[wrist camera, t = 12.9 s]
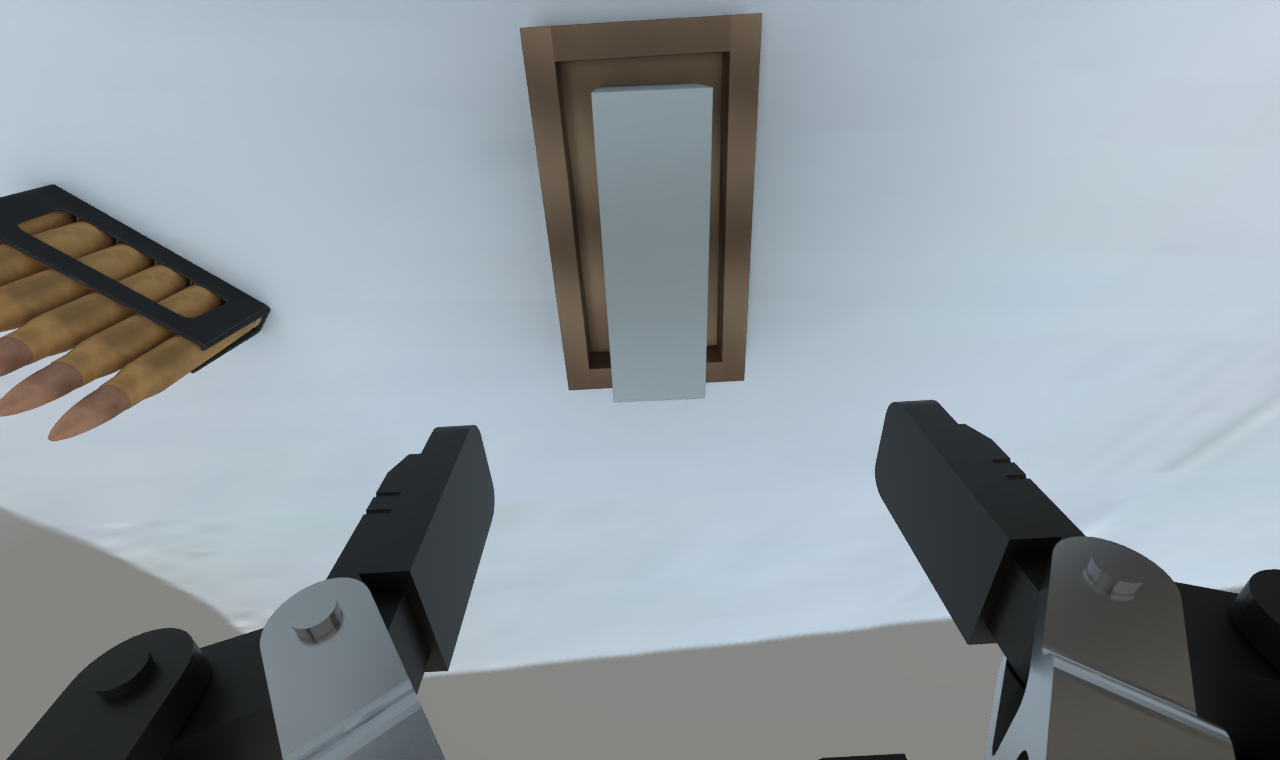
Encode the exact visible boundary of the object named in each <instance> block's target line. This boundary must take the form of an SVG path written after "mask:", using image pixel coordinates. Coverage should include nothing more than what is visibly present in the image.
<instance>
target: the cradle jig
mask: <svg viewBox="0 0 1280 760" xmlns="http://www.w3.org/2000/svg"><path fill="white" fill-rule="evenodd" d="M761 24H762V13H756V14H740V15H723V16H707V17H690V18H674V19H657V20H641V21H624V22H608V23H592V24H575V25H559V26H542V27H526V28H520V34H521V42H522V49H523V56H524V64H525V71H526V79H527V86H528V93H529V101H530V108H531V115H532V123H533V130H534V137H535V145H536V152H537V159H538V167H539V174H540V181H541V189H542V196H543V204H544V211H545V218H546V226H547V233H548V240H549V248H550V255H551V262H552V270H553V277H554V284H555V292H556V299H557V306H558V314H559V321H560V328H561V336H562V343H563V351H564V358H565V365H566V373H567V380H568V387H569V390H583V389H601V388H613V386H612V372H611V358H610V344H609V331H608V317H607V303H606V289H605V276H604V262H603V248H602V234H601V221H600V207H599V193H598V179H597V166H596V152H595V138H594V124H593V111H592V97H591V93H592V92H593V91H594V90H595V89H597V88H598V87H599V86H611V85H634V84H657V83H680V82H693V83H697V84H701V85H705V86H709V87H713V106H712V146H711V186H710V226H709V266H708V306H707V346H706V383H708V382H726V381H743V380H744V374H745V353H746V333H747V312H748V292H749V271H750V250H751V230H752V209H753V189H754V168H755V148H756V127H757V107H758V86H759V65H760V45H761Z"/></svg>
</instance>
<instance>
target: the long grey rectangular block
mask: <svg viewBox="0 0 1280 760" xmlns="http://www.w3.org/2000/svg"><path fill="white" fill-rule="evenodd" d="M591 97H592V111H593V124H594V138H595V152H596V166H597V179H598V193H599V207H600V221H601V234H602V248H603V262H604V276H605V289H606V303H607V317H608V331H609V344H610V358H611V372H612V386H613V399H614V402H633V401H656V400H679V399H702V398H705V386H706V346H707V306H708V266H709V226H710V186H711V146H712V106H713V87H709V86H705V85H701V84H697V83H693V82H680V83H657V84H634V85H611V86H599V87H598V88H597V89H595V90H594V91H593V92H592V93H591Z"/></svg>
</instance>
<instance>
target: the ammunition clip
mask: <svg viewBox="0 0 1280 760" xmlns="http://www.w3.org/2000/svg"><path fill="white" fill-rule="evenodd" d="M269 311H270V310H269V308H268V306H267V305H265V304H263V303H262V302H260V301H258V300H256V299H255V298H253V297H251V296H249V295H248V294H246V293H244V292H242V291H241V290H239V289H237V288H235V287H234V286H232V285H230V284H228V283H227V282H225V281H223V280H221V279H219V278H218V277H216V276H214V275H212V274H211V273H209V272H207V271H205V270H204V269H202V268H200V267H198V266H197V265H195V264H193V263H191V262H190V261H188V260H186V259H184V258H183V257H181V256H179V255H177V254H175V253H174V252H172V251H170V250H168V249H167V248H165V247H163V246H161V245H160V244H158V243H156V242H154V241H153V240H151V239H149V238H147V237H146V236H144V235H142V234H140V233H139V232H137V231H135V230H133V229H132V228H130V227H128V226H126V225H124V224H123V223H121V222H119V221H117V220H116V219H114V218H112V217H110V216H109V215H107V214H105V213H103V212H102V211H100V210H98V209H96V208H95V207H93V206H91V205H89V204H88V203H86V202H84V201H82V200H81V199H79V198H77V197H75V196H73V195H72V194H70V193H68V192H66V191H65V190H63V189H61V188H59V187H58V186H56V185H48V186H44V187H40V188H36V189H32V190H28V191H24V192H20V193H16V194H12V195H8V196H4V197H0V332H3V331H8V330H12V329H16V328H19V327H20V328H19V329H17V330H16V331H14V332H12V333H9V334H7V335H5V336H3V337H1V338H0V377H1V376H3V375H6V374H8V373H11V372H13V371H15V370H17V369H19V368H21V367H23V366H25V365H29V364H32V363H34V362H36V361H38V360H41V359H43V358H45V357H48V356H52V355H55V354H59V353H62V352H65V351H68V350H70V349H72V348H73V349H72V350H71V351H70V352H68V353H67V354H66V355H64V356H62V357H61V358H59V359H57V360H55V361H54V362H52V363H51V364H50V365H48V366H46V367H45V368H43V369H41V370H39V371H37V372H35V373H34V374H32V375H30V376H29V377H27V378H26V379H25V380H23V381H22V382H20V383H19V384H17V385H16V386H15V387H14V388H12V389H11V390H10V391H9V392H8V393H7V394H6V395H5V396H4V397H3V398H1V399H0V417H1V416H9V415H14V414H18V413H21V412H25V411H28V410H31V409H34V408H37V407H39V406H42V405H44V404H46V403H49V402H51V401H53V400H55V399H58V398H60V397H62V396H64V395H66V394H68V393H69V392H71V391H73V390H75V389H76V388H79V387H82V386H84V385H86V384H87V383H89V382H91V381H93V380H95V379H97V378H100V377H103V376H106V375H109V374H112V373H114V372H116V371H118V370H120V369H121V370H120V371H119V372H118V373H117V374H116V375H115V376H114V377H113V378H111V379H110V380H109V381H107V382H106V383H104V384H103V385H101V386H100V387H99V388H98V389H97V390H95V391H93V392H92V393H90V394H89V395H87V396H86V397H84V398H83V399H82V400H80V401H79V402H78V403H76V404H75V405H74V406H73V407H71V408H70V409H69V410H68V411H67V412H66V413H65V414H64V415H63V416H62V417H61V418H60V419H59V420H58V422H57V423H56V424H55V425H54V427H53V428H52V430H51V431H50V433H49V436H48V439H49V440H50V441H58V440H63V439H67V438H71V437H73V436H76V435H79V434H82V433H84V432H86V431H89V430H91V429H93V428H95V427H97V426H99V425H101V424H103V423H105V422H107V421H109V420H111V419H112V418H114V417H115V416H117V415H119V414H120V413H122V412H123V411H125V410H127V409H129V408H131V407H132V406H134V405H136V404H137V403H139V402H140V401H142V400H144V399H146V398H149V397H151V396H154V395H156V394H158V393H160V392H162V391H163V390H165V389H166V388H168V387H169V386H171V385H172V384H174V383H175V382H176V381H178V380H179V379H181V378H182V377H184V376H185V375H187V374H188V373H189V372H191V373H195V372H196V371H198V370H200V369H201V368H203V367H204V366H206V365H208V364H209V363H211V362H212V361H214V360H216V359H217V358H219V357H220V356H222V355H224V354H225V353H227V352H228V351H230V350H232V349H233V348H235V347H236V346H238V345H240V344H241V343H243V342H244V341H246V340H248V339H249V338H251V337H252V336H254V335H256V334H257V333H259V331H260V329H261V327H262V325H263V323H264V321H265V319H266V317H267V315H268V313H269Z"/></svg>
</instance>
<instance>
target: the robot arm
mask: <svg viewBox="0 0 1280 760" xmlns="http://www.w3.org/2000/svg"><path fill="white" fill-rule="evenodd" d="M875 479H876V484H877V488H878V492H879V494H880V496H881V498H882V500H883V502H884V503H885V505H886V507H887V508H888V510H889V512H890V513H891V515H892V517H893V519H894V520H895V522H896V524H897V525H898V527H899V529H900V530H901V532H902V534H903V536H904V537H905V539H906V541H907V542H908V544H909V546H910V547H911V549H912V551H913V553H914V554H915V556H916V558H917V559H918V561H919V563H920V564H921V566H922V568H923V570H924V571H925V573H926V575H927V576H928V578H929V580H930V581H931V583H932V585H933V586H934V588H935V590H936V592H937V593H938V595H939V597H940V598H941V600H942V602H943V603H944V605H945V607H946V609H947V610H948V612H949V614H950V615H951V617H952V619H953V620H954V622H955V624H956V625H957V627H958V629H959V631H960V632H961V634H962V636H963V637H964V639H965V641H966V643H967V644H968V645H971V644H989V643H997V644H998V645H999V647H1000V648H1001V650H1002V651H1003V653H1004V655H1005V656H1004V658H1003V661H1002V663H1001V666H1000V669H999V674H998V680H997V686H996V692H995V698H994V703H993V709H992V715H991V721H990V726H989V733H988V738H987V744H986V749H985V755H984V760H1280V570H1277V569H1272V570H1263V571H1260V572H1257V573H1256V574H1254V575H1253V576H1252V577H1251V578H1250V580H1249V581H1248V582H1247V584H1246V585H1245V587H1244V588H1243V589H1242V591H1241V592H1240V593H1239V594H1237V593H1232V592H1226V591H1221V590H1215V589H1210V588H1204V587H1199V586H1194V585H1188V584H1183V583H1177V582H1174V581H1173V580H1172V579H1171V577H1170V576H1169V575H1168V574H1167V573H1166V572H1165V571H1164V570H1163V569H1161V568H1160V567H1159V566H1158V565H1156V564H1155V563H1154V562H1152V561H1151V560H1149V559H1148V558H1146V557H1145V556H1143V555H1141V554H1139V553H1138V552H1136V551H1134V550H1132V549H1130V548H1127V547H1125V546H1123V545H1120V544H1117V543H1115V542H1112V541H1108V540H1104V539H1100V538H1095V537H1086V536H1085V535H1084V534H1083V533H1082V532H1081V531H1080V530H1079V529H1078V528H1077V527H1076V526H1075V525H1074V524H1073V523H1072V521H1071V520H1070V519H1069V518H1068V517H1067V516H1066V515H1065V514H1064V513H1063V512H1062V511H1061V510H1060V509H1059V508H1058V507H1057V506H1056V505H1055V504H1054V503H1053V502H1052V501H1051V500H1050V499H1049V498H1048V497H1047V496H1046V495H1045V494H1044V493H1043V492H1042V491H1041V490H1040V489H1039V488H1038V487H1037V485H1036V484H1035V483H1034V482H1033V481H1032V480H1031V479H1026V474H1025V473H1024V472H1023V471H1022V470H1021V469H1020V468H1019V467H1018V466H1017V465H1016V464H1015V463H1014V462H1013V463H1011V461H1010V458H1009V457H1008V456H1007V455H1006V454H1005V453H1004V452H1003V451H1002V450H1001V448H1000V447H999V446H998V445H997V444H996V443H995V442H994V441H993V440H992V439H990V438H988V437H987V436H985V435H983V434H981V433H980V432H978V431H976V430H975V429H973V428H971V427H969V426H968V425H966V424H958V423H957V422H956V421H955V420H954V419H953V418H952V417H951V416H950V415H949V414H948V413H947V411H946V410H945V409H944V408H943V407H942V406H941V405H940V404H939V403H938V402H937V401H935V400H922V401H905V402H893V403H891V404H890V405H889V407H888V409H887V412H886V416H885V421H884V426H883V431H882V435H881V440H880V445H879V450H878V455H877V460H876V465H875ZM493 513H494V488H493V483H492V479H491V474H490V470H489V466H488V462H487V458H486V454H485V450H484V446H483V442H482V438H481V434H480V431H479V429H478V427H477V426H476V425H467V426H449V427H437V428H435V429H434V430H433V432H432V434H431V435H430V437H429V439H428V441H427V443H426V445H425V447H424V449H423V451H422V453H421V454H409V455H408V456H407V457H405V458H404V459H403V460H402V461H401V462H400V463H398V464H397V465H396V466H395V467H394V468H393V469H392V470H390V471H389V472H388V473H387V475H386V477H385V479H384V480H383V482H382V484H381V486H380V487H379V489H378V491H377V492H376V497H374V498H373V499H372V501H371V503H370V505H369V506H368V508H367V510H366V515H363V517H362V518H361V520H360V522H359V524H358V525H357V527H356V529H355V531H354V532H353V534H352V536H351V537H350V539H349V541H348V543H347V544H346V546H345V548H344V550H343V551H342V553H341V555H340V556H339V558H338V560H337V562H336V563H335V565H334V567H333V569H332V570H331V572H330V574H329V576H328V577H327V579H326V580H324V581H321V582H318V583H315V584H313V585H311V586H308V587H306V588H305V589H303V590H301V591H299V592H298V593H296V594H295V595H293V596H292V597H290V598H289V599H288V600H287V601H285V602H284V603H283V604H282V605H281V606H280V607H279V608H278V609H277V610H276V611H275V612H274V613H273V615H272V616H271V617H270V618H269V620H268V621H267V623H266V625H265V626H264V628H262V629H259V630H256V631H253V632H250V633H247V634H244V635H240V636H237V637H234V638H231V639H228V640H225V641H221V642H218V643H215V644H212V645H209V646H206V647H202V648H199V647H198V645H197V644H196V643H195V641H194V640H193V639H192V637H191V636H190V635H189V634H188V633H187V632H186V631H183V630H181V629H175V628H163V629H157V630H152V631H149V632H145V633H142V634H140V635H137V636H135V637H132V638H130V639H128V640H126V641H124V642H122V643H120V644H118V645H117V646H115V647H113V648H112V649H110V650H108V651H107V652H105V653H104V654H102V655H101V656H99V657H98V658H97V659H96V660H94V661H93V662H92V663H90V664H89V665H88V666H87V667H86V668H85V669H84V670H83V671H82V672H80V673H79V674H78V675H77V677H76V678H75V679H74V680H73V681H72V682H71V683H70V684H69V686H68V687H67V688H66V689H65V690H64V691H63V693H62V694H61V695H60V696H59V697H58V699H57V700H56V701H55V702H54V704H53V705H52V706H51V707H50V708H49V709H48V711H47V712H46V713H45V714H44V715H43V717H42V718H41V719H40V720H39V721H38V723H37V724H36V725H35V726H34V727H33V729H32V730H31V731H30V732H29V734H28V735H27V736H26V737H25V738H24V740H23V741H22V742H21V743H20V744H19V745H18V747H17V748H16V749H15V750H14V752H13V753H12V754H11V755H10V756H9V757H8V759H7V760H445V758H444V755H443V753H442V751H441V749H440V746H439V744H438V742H437V740H436V738H435V735H434V733H433V731H432V728H431V726H430V724H429V722H428V720H427V717H426V715H425V713H424V711H423V709H422V706H421V704H420V702H419V699H418V697H417V692H418V690H419V686H420V683H421V680H422V677H423V674H424V672H436V671H448V669H449V666H450V662H451V659H452V655H453V652H454V649H455V645H456V642H457V638H458V635H459V631H460V628H461V625H462V621H463V618H464V614H465V611H466V607H467V604H468V600H469V597H470V594H471V590H472V587H473V583H474V580H475V576H476V573H477V569H478V566H479V563H480V559H481V556H482V552H483V549H484V545H485V542H486V539H487V535H488V532H489V528H490V525H491V521H492V518H493ZM819 760H907V759H906V756H905V754H889V755H870V756H851V757H833V758H822V759H819Z"/></svg>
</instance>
